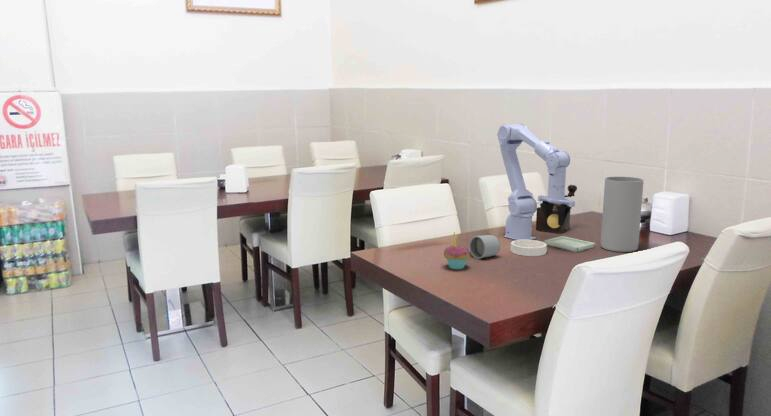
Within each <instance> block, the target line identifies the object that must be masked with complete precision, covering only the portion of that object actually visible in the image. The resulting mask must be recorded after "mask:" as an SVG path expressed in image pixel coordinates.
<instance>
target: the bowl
mask: <svg viewBox="0 0 771 416" xmlns="http://www.w3.org/2000/svg"><path fill="white" fill-rule="evenodd" d="M547 250H548V245H547V244H546V243H544V241H540V240H535V239H531V240H515V239H514V240H512V241H511V242H510V250H509V251H510V252H511V253H512V254H514V255H519V256H521V257H522V256H526V257H540V256H544V255H546V254H547Z"/></svg>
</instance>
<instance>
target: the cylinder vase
mask: <svg viewBox="0 0 771 416" xmlns="http://www.w3.org/2000/svg"><path fill="white" fill-rule="evenodd" d="M643 191H644V179H643V178H639V177H631V176H608V177H607V176H606V177H605V178H604V188H603V202H602V203H603V205H602V216H601V217H602V220H601V234H600V247H601V248H602V249H604V250H607V251H611V252H615V253H632V252H635V251H637V250H638V249H639V241H640V232H641V231H640V229H641V216H642V205H643V193H644V192H643Z"/></svg>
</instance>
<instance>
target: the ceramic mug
mask: <svg viewBox="0 0 771 416" xmlns="http://www.w3.org/2000/svg"><path fill="white" fill-rule="evenodd" d="M468 250H469V251H470V255H471V256H472V257H474V258H475V259H477V260H479V259H485V258H488V257H489V258H490V257H494V256H496V255H498V254H499V252H500V250H501V242H500V240H499V238H498V237H497V236H495V235H493V234H492V235H491V234H488V235H486V234H485V235H484V234H483V235H475V236H473V237H472V238H471V239H470V241H469V248H468Z"/></svg>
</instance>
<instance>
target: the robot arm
mask: <svg viewBox="0 0 771 416" xmlns="http://www.w3.org/2000/svg"><path fill="white" fill-rule="evenodd" d="M496 136H497V139H498V143H499V147H500V154H501V158H502V160H503V163H504V164H503V165H504V167H505V171H506V175H507V179H508V183H509V187H510V189H511V193H510V195H509V196H508V197H507V202H508V211H509V213H510V214H509V215H508V216H507V217H506V220H505V235H503V237H504V238H507V239H511V240H514V241H515V240H535V239H537V237H536V236H533V235H532V228H533V216H534V214H535V213H537V208H538V202H541V203H539V205H540V206H539V207H541V208H542V210H543V212H544V216H545V220H546V223H547V219H548V217H549V216H550V215H552V210H553V206H554V204H559V205H561V206H557V210H558V224H559V226H561V225H564V222H565V219H566V217H567V214H568V213H569V211H570V212H571V210H572V207H575V205H576V201H575V200H571V199H568V198H566V197H565V195H566V192H565V191H566V177H567V176H566V174H567V168H568V167H569V166H570V164H571V156H570V154H569V153H568V152H567V151H565V150H561V151H560V150H559V148H558V147H555V146H553V145H552V144H551V142H550V141H549V140H540V139H539V138H538V137H537V136H536V135H534V134H533V133H532V132H531V130H529V127H528V126H526V124H523V123H516V124H512V123H511V124H501V125H500V126H499V129H498V130H497V135H496ZM523 142H524V143H525V144H527V145H528V146H530V147H531V148H533V149H534V153H535V154H536V155H537V156H538V157H540V158H541V159H542V160H543V161H544V162H545V165H546V167H547V172H548V181H547V182H548V184H547V187H548V188H547V195H538V196H537V200H536V199H535V198H534V196H533V193H532V192H531V191H530V190H529V189H527V188H526V187H527V186H526V183H525V180H524V176H523V172H522V169H521V166H520V160H519V158H518V154H517V148H519V147H520V146H521V144H522V143H523Z"/></svg>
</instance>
